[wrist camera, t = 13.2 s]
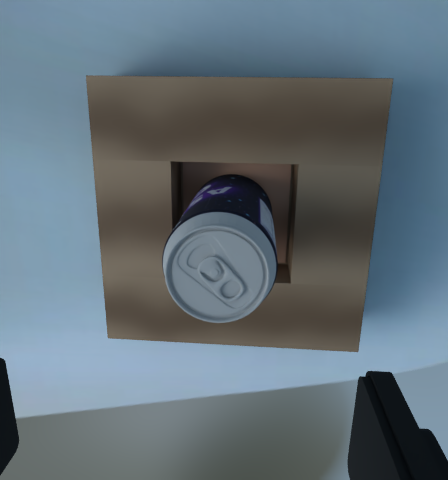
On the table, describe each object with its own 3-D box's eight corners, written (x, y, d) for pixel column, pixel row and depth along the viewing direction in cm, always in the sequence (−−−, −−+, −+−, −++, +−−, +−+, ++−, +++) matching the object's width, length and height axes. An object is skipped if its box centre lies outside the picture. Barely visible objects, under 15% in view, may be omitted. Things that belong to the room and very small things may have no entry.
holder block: (110, 78, 30) (86, 75, 26) (373, 81, 29) (393, 78, 24) (126, 309, 36) (107, 338, 31) (346, 320, 34) (358, 352, 30)
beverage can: (236, 155, 30) (221, 190, 18) (288, 215, 31) (304, 284, 20) (177, 206, 31) (130, 268, 20) (229, 262, 32) (212, 351, 21)
